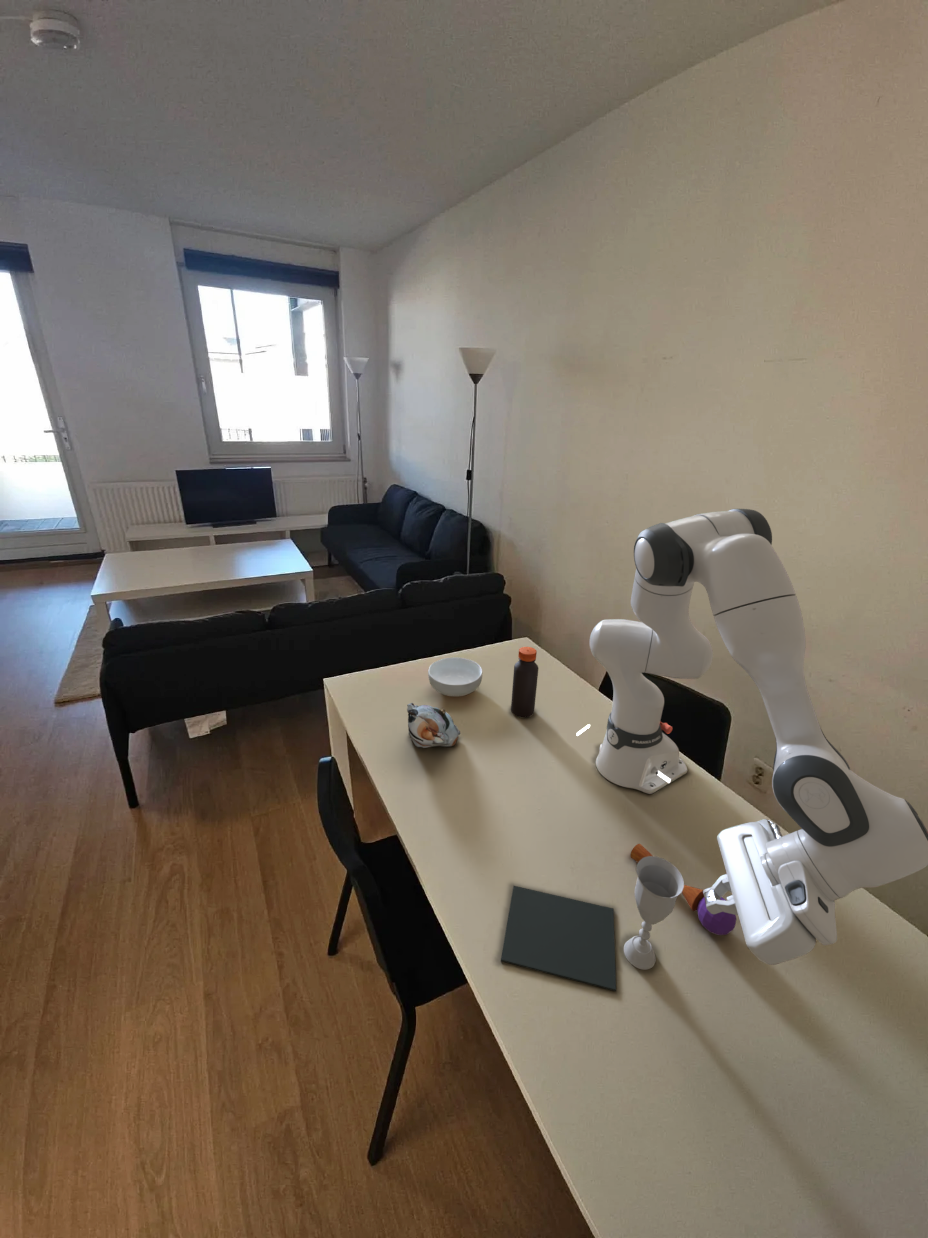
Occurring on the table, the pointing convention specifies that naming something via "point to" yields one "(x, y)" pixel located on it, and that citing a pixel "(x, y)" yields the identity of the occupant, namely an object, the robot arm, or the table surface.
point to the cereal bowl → (455, 676)
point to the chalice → (652, 905)
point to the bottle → (524, 683)
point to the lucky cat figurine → (431, 726)
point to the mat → (561, 937)
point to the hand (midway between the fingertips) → (706, 902)
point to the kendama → (697, 902)
